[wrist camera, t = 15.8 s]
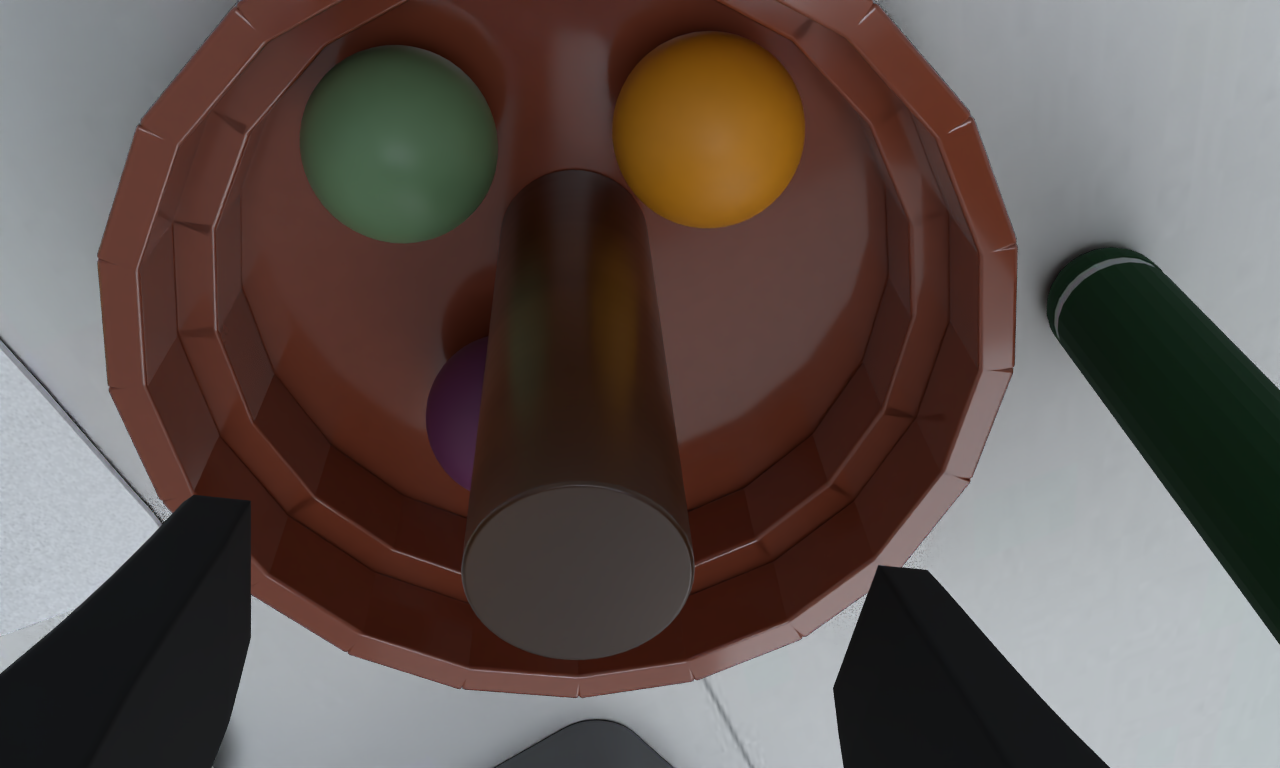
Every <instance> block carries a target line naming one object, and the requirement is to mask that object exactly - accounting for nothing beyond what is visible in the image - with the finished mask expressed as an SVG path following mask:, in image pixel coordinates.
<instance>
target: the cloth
mask: <svg viewBox="0 0 1280 768" xmlns="http://www.w3.org/2000/svg"><path fill="white" fill-rule="evenodd" d="M161 525H162V523H161V522H160V521H159V519H158V518H157V517H156V516H155V514H154V513H153V512H152V511H151V509H150V508H149V507H148V506H147V505H146V504H145V503H144V502H143V501H142V499H141V498H140V497H139V496H138V495H137V494H136V493H135V492H134V491H133V489H132V488H131V487H130V486H129V485H128V484H127V483H126V482H125V481H124V479H123V478H122V477H121V476H120V475H119V474H118V472H117V471H116V470H115V469H114V468H113V467H112V466H111V464H110V463H109V462H108V461H107V460H106V459H105V457H104V456H103V455H102V454H101V453H100V452H99V451H98V449H97V448H96V447H95V446H94V445H93V444H92V443H91V441H90V440H89V439H88V438H87V437H86V436H85V434H84V433H83V432H82V431H81V430H80V429H79V428H78V426H77V425H76V424H75V423H74V422H73V421H72V419H71V418H70V417H69V416H68V415H67V414H66V413H65V411H64V410H63V409H62V408H61V407H60V406H59V404H58V403H57V402H56V401H55V400H54V399H53V398H52V396H51V395H50V394H49V393H48V392H47V391H46V389H45V388H44V387H43V386H42V385H41V384H40V383H39V382H38V381H37V380H36V378H35V377H34V376H33V375H32V374H31V373H30V372H29V371H28V370H27V369H26V368H25V366H24V365H23V364H22V363H21V362H20V361H19V360H18V359H17V358H16V357H15V356H14V354H13V353H12V352H11V351H10V350H9V349H8V348H7V347H6V346H5V345H4V344H3V342H2V341H1V340H0V636H3V635H6V634H8V633H11V632H14V631H17V630H20V629H22V628H25V627H28V626H31V625H33V624H36V623H39V622H41V621H44V620H47V619H49V618H52V617H55V616H57V615H60V614H63V613H65V612H68V611H71V610H73V609H76V608H77V607H79V606H80V605H81V604H82V603H83V602H84V601H85V600H86V599H87V598H88V597H89V596H90V595H91V594H92V593H94V592H95V591H96V590H97V589H98V588H99V587H100V586H101V585H102V584H103V583H104V582H105V581H106V580H107V579H109V578H110V577H111V576H112V575H113V574H114V573H115V572H116V571H117V570H118V569H119V568H120V567H121V566H122V565H123V564H124V563H125V562H126V561H127V560H128V559H129V558H130V557H131V556H132V555H133V554H134V553H135V552H136V551H137V550H138V549H139V548H140V547H141V546H142V545H143V544H144V543H145V542H146V541H147V540H148V539H149V538H150V537H151V536H152V535H153V534H154V533H155V532H156V530H157V529H158V528H159V527H160V526H161Z"/></svg>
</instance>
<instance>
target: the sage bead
mask: <svg viewBox="0 0 1280 768" xmlns="http://www.w3.org/2000/svg"><path fill="white" fill-rule="evenodd" d="M300 153H301V160H302V164H303V167H304V171H305V174H306V176H307V179H308V181H309V184H310V186H311V187H312V189H313V191H314V193H315V195H316V196H317V198H318V199H319V200H320V202H321V203H322V204H323V206H324V207H325V208H326V209H327V210H328V211H329V212H330V213H331V214H332V215H333V216H334V217H335V218H336V219H337V220H339V221H340V222H341V223H342V224H344V225H345V226H347V227H349V228H350V229H352V230H353V231H355V232H358V233H360V234H362V235H364V236H366V237H369V238H373V239H376V240H379V241H384V242H390V243H404V244H405V243H416V242H421V241H426V240H430V239H434V238H436V237H439V236H441V235H444V234H446V233H448V232H449V231H451V230H453V229H455V228H456V227H457V226H459V225H460V224H462V223H463V222H464V221H465V220H466V219H467V218H468V217H469V216H470V215H471V214H472V213H474V212H475V210H476V209H477V208H478V206H479V205H480V204H481V203H482V201H483V199H484V198H485V196H486V194H487V193H488V191H489V188H490V186H491V184H492V181H493V178H494V174H495V171H496V165H497V159H498V139H497V131H496V127H495V122H494V119H493V116H492V113H491V110H490V108H489V106H488V104H487V102H486V100H485V98H484V96H483V95H482V93H481V91H480V90H479V88H478V87H477V86H476V84H475V83H474V82H473V81H472V80H471V79H470V77H469V76H468V75H467V74H465V73H464V72H463V71H462V70H461V69H460V68H459V67H457V66H456V65H455V64H453V63H452V62H450V61H449V60H447V59H445V58H443V57H442V56H440V55H438V54H435V53H433V52H430V51H428V50H424V49H420V48H416V47H412V46H404V45H384V46H378V47H373V48H369V49H366V50H363V51H360V52H357V53H355V54H353V55H351V56H349V57H347V58H345V59H344V60H342V61H341V62H339V63H338V64H336V65H335V66H334V67H333V68H332V69H331V70H330V71H328V72H327V73H326V75H325V76H324V77H323V78H322V79H321V80H320V82H319V83H318V84H317V86H316V87H315V89H314V90H313V92H312V94H311V95H310V97H309V100H308V102H307V104H306V106H305V110H304V113H303V116H302V120H301V127H300Z"/></svg>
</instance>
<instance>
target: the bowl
mask: <svg viewBox="0 0 1280 768" xmlns="http://www.w3.org/2000/svg"><path fill="white" fill-rule="evenodd" d="M702 31H718V32H726V33H731V34H735V35H739V36H741V37H744V38H747V39H749V40H751V41H753V42H755V43H756V44H758V45H760V46H762V47H763V48H764V49H766V50H767V51H768V52H770V53H771V54H772V55H773V56H774V57H775V58H776V59H777V60H778V61H779V62H780V63H781V64H782V65H783V66H784V68H785V69H786V70H787V72H788V73H789V75H790V76H791V78H792V80H793V82H794V83H795V85H796V88H797V90H798V93H799V95H800V98H801V102H802V106H803V110H804V118H805V139H804V147H803V152H802V155H801V159H800V162H799V165H798V167H797V169H796V172H795V174H794V176H793V178H792V179H791V181H790V183H789V184H788V186H787V187H786V188H785V190H784V191H783V192H782V194H781V195H780V196H779V197H778V198H777V199H776V200H775V201H774V202H773V203H772V204H771V205H770V206H768V207H767V208H766V209H765V210H763V211H762V212H760V213H759V214H757V215H755V216H754V217H752V218H750V219H748V220H745V221H743V222H741V223H738V224H734V225H731V226H727V227H720V228H695V227H688V226H684V225H681V224H677V223H675V222H672V221H670V220H667V219H665V218H663V217H662V216H660V215H658V214H656V213H655V212H654V211H652V210H651V209H650V208H648V207H647V206H646V205H645V204H644V203H643V202H642V201H641V200H640V199H639V198H638V197H637V196H636V195H635V194H634V193H633V191H632V190H631V189H630V187H629V186H628V184H627V182H626V181H625V179H624V177H623V175H622V173H621V171H620V168H619V166H618V163H617V160H616V156H615V152H614V147H613V140H612V122H613V114H614V109H615V105H616V101H617V98H618V96H619V93H620V91H621V88H622V86H623V84H624V83H625V81H626V79H627V77H628V76H629V74H630V73H631V72H632V70H633V69H634V68H635V66H636V65H637V64H638V63H639V62H640V61H641V60H642V59H643V58H644V57H645V56H646V55H647V54H648V53H650V52H651V51H652V50H654V49H655V48H656V47H658V46H659V45H661V44H663V43H665V42H667V41H669V40H671V39H673V38H675V37H678V36H681V35H685V34H689V33H693V32H702ZM384 45H404V46H412V47H416V48H420V49H424V50H428V51H430V52H433V53H435V54H438V55H440V56H442V57H443V58H445V59H447V60H449V61H450V62H452V63H453V64H455V65H456V66H457V67H459V68H460V69H461V70H462V71H463V72H464V73H465V74H467V75H468V76H469V77H470V79H471V80H472V81H473V82H474V83H475V84H476V86H477V87H478V88H479V90H480V91H481V93H482V95H483V96H484V98H485V100H486V102H487V104H488V106H489V108H490V110H491V113H492V116H493V119H494V122H495V127H496V131H497V139H498V159H497V165H496V171H495V174H494V178H493V181H492V184H491V186H490V188H489V191H488V193H487V194H486V196H485V198H484V199H483V201H482V203H481V204H480V205H479V206H478V208H477V209H476V210H475V212H474V213H472V214H471V215H470V216H469V217H468V218H467V219H466V220H465V221H464V222H463V223H462V224H460V225H459V226H457V227H456V228H455V229H453V230H451V231H449V232H448V233H446V234H444V235H441V236H439V237H436V238H434V239H430V240H426V241H421V242H416V243H405V244H404V243H390V242H384V241H379V240H376V239H373V238H369V237H366V236H364V235H362V234H360V233H358V232H355V231H353V230H352V229H350V228H349V227H347V226H345V225H344V224H342V223H341V222H340V221H339V220H337V219H336V218H335V217H334V216H333V215H332V214H331V213H330V212H329V211H328V210H327V209H326V208H325V207H324V206H323V204H322V203H321V202H320V200H319V199H318V198H317V196H316V195H315V193H314V191H313V189H312V187H311V186H310V184H309V181H308V179H307V176H306V174H305V171H304V167H303V164H302V160H301V153H300V127H301V120H302V116H303V113H304V110H305V106H306V104H307V102H308V100H309V97H310V95H311V94H312V92H313V90H314V89H315V87H316V86H317V84H318V83H319V82H320V80H321V79H322V78H323V77H324V76H325V75H326V73H327V72H328V71H330V70H331V69H332V68H333V67H334V66H335V65H336V64H338V63H339V62H341V61H342V60H344V59H345V58H347V57H349V56H351V55H353V54H355V53H357V52H360V51H363V50H366V49H369V48H373V47H378V46H384ZM565 170H583V171H589V172H594V173H597V174H601V175H603V176H605V177H608V178H610V179H612V180H613V181H615V182H617V183H618V184H619V185H621V186H622V187H623V188H625V189H626V190H627V191H628V192H629V193H630V194H631V195H632V196H633V198H634V199H635V200H636V202H637V203H638V205H639V207H640V209H641V210H642V213H643V215H644V218H645V221H646V225H647V231H648V238H649V245H650V252H651V259H652V266H653V273H654V280H655V287H656V294H657V301H658V308H659V315H660V322H661V329H662V336H663V343H664V350H665V357H666V364H667V371H668V378H669V385H670V392H671V399H672V406H673V413H674V420H675V427H676V434H677V441H678V448H679V455H680V462H681V469H682V476H683V483H684V490H685V497H686V504H687V511H688V518H689V525H690V532H691V540H692V547H693V554H694V564H695V572H694V581H693V585H692V588H691V592H690V594H689V596H688V599H687V601H686V603H685V605H684V606H683V608H682V609H681V611H680V613H679V614H678V615H677V617H676V618H675V619H674V620H673V621H672V622H671V624H670V625H668V626H667V627H666V628H665V629H664V630H663V631H662V632H661V633H659V634H658V635H656V636H655V637H654V638H652V639H651V640H649V641H647V642H645V643H644V644H642V645H640V646H638V647H636V648H633V649H631V650H628V651H626V652H623V653H620V654H616V655H613V656H608V657H603V658H598V659H588V660H564V659H554V658H549V657H543V656H539V655H536V654H533V653H529V652H526V651H524V650H522V649H519V648H517V647H515V646H513V645H511V644H509V643H507V642H505V641H504V640H502V639H501V638H499V637H498V636H497V635H495V634H494V633H493V632H491V631H490V630H489V629H488V628H487V627H486V626H485V625H484V624H483V623H482V622H481V620H480V619H479V618H478V617H477V615H476V614H475V612H474V611H473V609H472V607H471V606H470V604H469V602H468V600H467V597H466V594H465V592H464V588H463V583H462V574H461V566H462V557H463V549H464V540H465V532H466V523H467V515H468V506H469V498H470V491H468V490H467V489H465V488H463V487H462V486H461V485H459V484H458V483H456V482H455V481H454V480H453V479H452V478H451V477H450V476H449V475H448V474H447V473H446V472H445V471H444V469H443V468H442V466H441V465H440V463H439V462H438V460H437V459H436V457H435V455H434V453H433V450H432V448H431V446H430V443H429V439H428V434H427V430H426V407H427V400H428V396H429V393H430V390H431V387H432V384H433V382H434V380H435V378H436V376H437V375H438V373H439V371H440V370H441V369H442V367H443V366H444V364H445V363H446V362H447V361H448V360H449V359H450V358H451V357H452V356H453V355H454V354H455V353H456V352H458V351H459V350H460V349H462V348H463V347H465V346H466V345H468V344H470V343H472V342H474V341H476V340H478V339H481V338H484V337H487V336H489V328H490V319H491V311H492V302H493V294H494V285H495V277H496V268H497V260H498V251H499V243H500V234H501V226H502V222H503V218H504V215H505V213H506V211H507V208H508V207H509V205H510V203H511V202H512V200H513V199H514V198H515V196H516V195H517V194H518V193H519V192H520V191H521V190H522V189H523V188H524V187H525V186H527V185H528V184H530V183H531V182H533V181H534V180H536V179H538V178H540V177H542V176H545V175H547V174H550V173H554V172H558V171H565ZM1016 239H1017V238H1016V235H1015V232H1014V229H1013V227H1012V224H1011V221H1010V218H1009V215H1008V213H1007V210H1006V207H1005V204H1004V201H1003V198H1002V196H1001V193H1000V190H999V187H998V184H997V181H996V179H995V176H994V173H993V170H992V167H991V164H990V162H989V159H988V156H987V153H986V150H985V147H984V145H983V142H982V139H981V136H980V133H979V130H978V128H977V125H976V122H975V119H974V118H973V117H972V116H971V114H970V110H969V109H968V108H967V107H966V106H965V105H964V103H963V102H962V101H961V100H960V99H959V98H958V96H957V95H956V94H955V93H954V92H953V91H952V89H951V88H950V87H949V86H948V85H947V84H946V82H945V81H944V80H943V79H942V78H941V77H940V75H939V74H938V73H937V72H936V71H935V70H934V68H933V67H932V66H931V65H930V64H929V63H928V61H927V60H926V59H925V58H924V57H923V56H922V54H921V53H920V52H919V51H918V50H917V49H916V47H915V46H914V45H913V44H912V43H911V42H910V40H909V39H908V38H907V37H906V36H905V35H904V33H903V32H902V31H901V30H900V29H899V28H898V26H897V25H896V24H895V23H894V22H893V21H892V19H891V18H890V17H889V16H888V15H887V14H886V12H885V11H884V10H883V9H882V8H881V7H880V5H879V4H878V3H877V2H876V1H875V0H239V1H238V2H237V3H236V4H235V5H234V6H233V7H232V8H231V9H230V10H229V12H228V13H227V14H226V15H225V17H224V18H223V19H222V20H221V21H220V23H219V24H218V25H217V26H216V28H215V29H214V30H213V31H212V32H211V34H210V35H209V36H208V37H207V39H206V40H205V41H204V42H203V44H202V45H201V46H200V47H199V48H198V50H197V51H196V52H195V53H194V55H193V56H192V57H191V58H190V59H189V61H188V62H187V63H186V64H185V66H184V67H183V68H182V69H181V70H180V72H179V73H178V74H177V75H176V77H175V78H174V79H173V80H172V81H171V83H170V84H169V85H168V86H167V88H166V89H165V90H164V91H163V93H162V94H161V95H160V96H159V97H158V99H157V100H156V101H155V102H154V104H153V105H152V106H151V107H150V108H149V110H148V111H147V112H146V113H145V115H144V116H143V117H142V118H141V121H140V123H139V124H138V125H137V126H136V129H135V133H134V136H133V139H132V142H131V146H130V149H129V152H128V155H127V159H126V162H125V165H124V169H123V172H122V175H121V178H120V182H119V185H118V188H117V191H116V195H115V198H114V201H113V204H112V208H111V211H110V214H109V217H108V221H107V224H106V227H105V230H104V234H103V237H102V240H101V243H100V247H99V250H98V253H97V257H98V260H97V265H98V277H99V289H100V300H101V312H102V324H103V335H104V347H105V359H106V371H107V382H108V386H109V393H110V395H111V397H112V399H113V401H114V403H115V405H116V407H117V410H118V412H119V414H120V416H121V418H122V420H123V422H124V424H125V427H126V429H127V431H128V433H129V435H130V437H131V439H132V442H133V444H134V446H135V448H136V450H137V452H138V454H139V456H140V459H141V461H142V463H143V465H144V467H145V469H146V471H147V474H148V476H149V478H150V480H151V482H152V484H153V486H154V488H155V491H156V493H157V495H158V497H159V499H160V500H162V501H163V503H164V505H165V506H166V507H167V508H168V509H169V510H170V511H171V512H172V513H173V512H174V511H175V510H176V509H177V508H178V507H179V506H180V505H181V504H182V503H183V502H184V501H185V500H187V499H188V498H190V497H191V496H193V495H201V496H211V497H220V498H230V499H240V500H250V501H251V595H252V596H254V597H256V598H257V599H259V600H261V601H262V602H264V603H266V604H267V605H269V606H270V607H272V608H274V609H275V610H277V611H279V612H280V613H282V614H284V615H285V616H287V617H288V618H290V619H292V620H293V621H295V622H297V623H298V624H300V625H302V626H303V627H305V628H306V629H308V630H310V631H311V632H313V633H315V634H316V635H318V636H320V637H321V638H323V639H324V640H326V641H328V642H329V643H331V644H333V645H334V646H336V647H338V648H339V649H341V650H342V651H344V652H348V654H349V655H352V656H355V657H359V658H362V659H365V660H368V661H371V662H374V663H378V664H381V665H384V666H387V667H390V668H394V669H397V670H400V671H403V672H406V673H409V674H413V675H416V676H419V677H422V678H425V679H429V680H432V681H435V682H438V683H441V684H445V685H448V686H451V687H454V688H457V689H461V688H463V689H465V690H478V691H491V692H504V693H517V694H530V695H543V696H556V697H569V698H577V697H578V696H580V697H581V698H585V697H591V696H598V695H605V694H612V693H619V692H625V691H632V690H639V689H646V688H653V687H659V686H666V685H673V684H680V683H687V682H692V681H694V679H695V680H700V679H702V678H705V677H707V676H710V675H712V674H715V673H717V672H720V671H723V670H725V669H728V668H730V667H733V666H735V665H738V664H740V663H743V662H745V661H748V660H751V659H753V658H756V657H758V656H761V655H763V654H766V653H768V652H771V651H773V650H776V649H778V648H781V647H784V646H786V645H789V644H791V643H794V642H796V641H799V640H801V639H802V637H806V636H808V635H809V634H810V633H812V632H813V631H815V630H816V629H817V628H819V627H820V626H822V625H823V624H824V623H826V622H827V621H829V620H830V619H832V618H833V617H834V616H836V615H837V614H839V613H840V612H841V611H843V610H844V609H846V608H847V607H848V606H850V605H851V604H853V603H854V602H855V601H857V600H858V599H860V598H861V597H862V596H864V595H865V594H867V593H868V591H869V589H870V586H871V583H872V581H873V578H874V575H875V572H876V570H877V567H878V565H883V566H892V567H902V566H903V565H904V564H905V563H906V561H907V560H908V559H909V558H910V556H911V555H912V554H913V553H914V551H915V550H916V549H917V548H918V546H919V545H920V544H921V543H922V541H923V540H924V539H925V538H926V536H927V535H928V534H929V533H930V531H931V530H932V529H933V528H934V527H935V525H936V524H937V523H938V522H939V520H940V519H941V518H942V517H943V515H944V514H945V513H946V512H947V510H948V509H949V508H950V507H951V505H952V504H953V503H954V502H955V500H956V499H957V498H958V497H959V496H960V494H961V493H962V492H963V491H964V489H965V488H966V487H967V486H968V484H969V483H970V479H971V478H972V477H973V474H974V472H975V469H976V467H977V464H978V461H979V459H980V456H981V454H982V451H983V449H984V446H985V443H986V441H987V438H988V436H989V433H990V431H991V428H992V425H993V423H994V420H995V418H996V415H997V412H998V410H999V407H1000V405H1001V402H1002V400H1003V397H1004V394H1005V392H1006V389H1007V387H1008V384H1009V382H1010V379H1011V376H1012V374H1013V367H1014V365H1015V335H1016V298H1017V260H1018V246H1017V244H1016Z"/></svg>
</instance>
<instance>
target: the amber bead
mask: <svg viewBox="0 0 1280 768" xmlns="http://www.w3.org/2000/svg"><path fill="white" fill-rule="evenodd" d="M804 139H805V118H804V110H803V106H802V102H801V98H800V95H799V93H798V90H797V88H796V85H795V83H794V82H793V80H792V78H791V76H790V75H789V73H788V72H787V70H786V69H785V68H784V66H783V65H782V64H781V63H780V62H779V61H778V60H777V59H776V58H775V57H774V56H773V55H772V54H771V53H770V52H768V51H767V50H766V49H764V48H763V47H762V46H760V45H758V44H756V43H755V42H753V41H751V40H749V39H747V38H744V37H741V36H739V35H735V34H731V33H726V32H718V31H702V32H693V33H689V34H685V35H681V36H678V37H675V38H673V39H671V40H669V41H667V42H665V43H663V44H661V45H659V46H658V47H656V48H655V49H654V50H652V51H651V52H650V53H648V54H647V55H646V56H645V57H644V58H643V59H642V60H641V61H640V62H639V63H638V64H637V65H636V66H635V68H634V69H633V70H632V72H631V73H630V74H629V76H628V77H627V79H626V81H625V83H624V84H623V86H622V88H621V91H620V93H619V96H618V98H617V101H616V105H615V109H614V114H613V122H612V140H613V147H614V152H615V156H616V160H617V163H618V166H619V168H620V171H621V173H622V175H623V177H624V179H625V181H626V182H627V184H628V186H629V187H630V189H631V190H632V191H633V193H634V194H635V195H636V196H637V197H638V198H639V199H640V200H641V201H642V202H643V203H644V204H645V205H646V206H647V207H648V208H650V209H651V210H652V211H654V212H655V213H656V214H658V215H660V216H662V217H663V218H665V219H667V220H670V221H672V222H675V223H677V224H681V225H684V226H688V227H695V228H720V227H727V226H731V225H734V224H738V223H741V222H743V221H745V220H748V219H750V218H752V217H754V216H755V215H757V214H759V213H760V212H762V211H763V210H765V209H766V208H767V207H768V206H770V205H771V204H772V203H773V202H774V201H775V200H776V199H777V198H778V197H779V196H780V195H781V194H782V192H783V191H784V190H785V188H786V187H787V186H788V184H789V183H790V181H791V179H792V178H793V176H794V174H795V172H796V169H797V167H798V165H799V162H800V159H801V155H802V152H803V147H804Z"/></svg>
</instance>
